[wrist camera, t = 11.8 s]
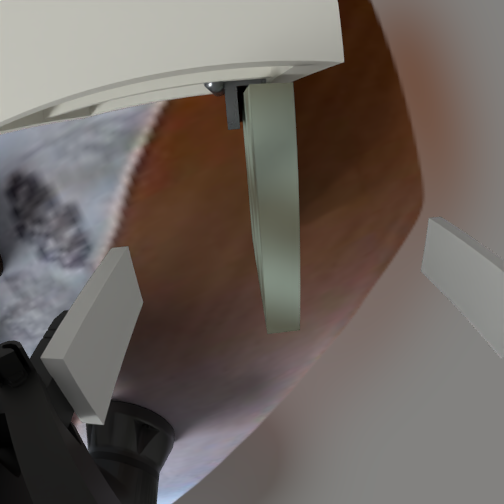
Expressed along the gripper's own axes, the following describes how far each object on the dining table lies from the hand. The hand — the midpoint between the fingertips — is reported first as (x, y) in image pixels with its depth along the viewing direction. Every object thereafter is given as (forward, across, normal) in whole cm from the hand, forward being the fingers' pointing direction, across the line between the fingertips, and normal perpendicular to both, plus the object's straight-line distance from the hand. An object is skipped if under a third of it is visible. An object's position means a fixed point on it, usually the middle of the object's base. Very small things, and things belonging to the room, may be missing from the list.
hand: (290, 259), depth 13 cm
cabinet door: (+18, 0, 0) cm, 18 cm away
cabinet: (+18, +7, -13) cm, 23 cm away
